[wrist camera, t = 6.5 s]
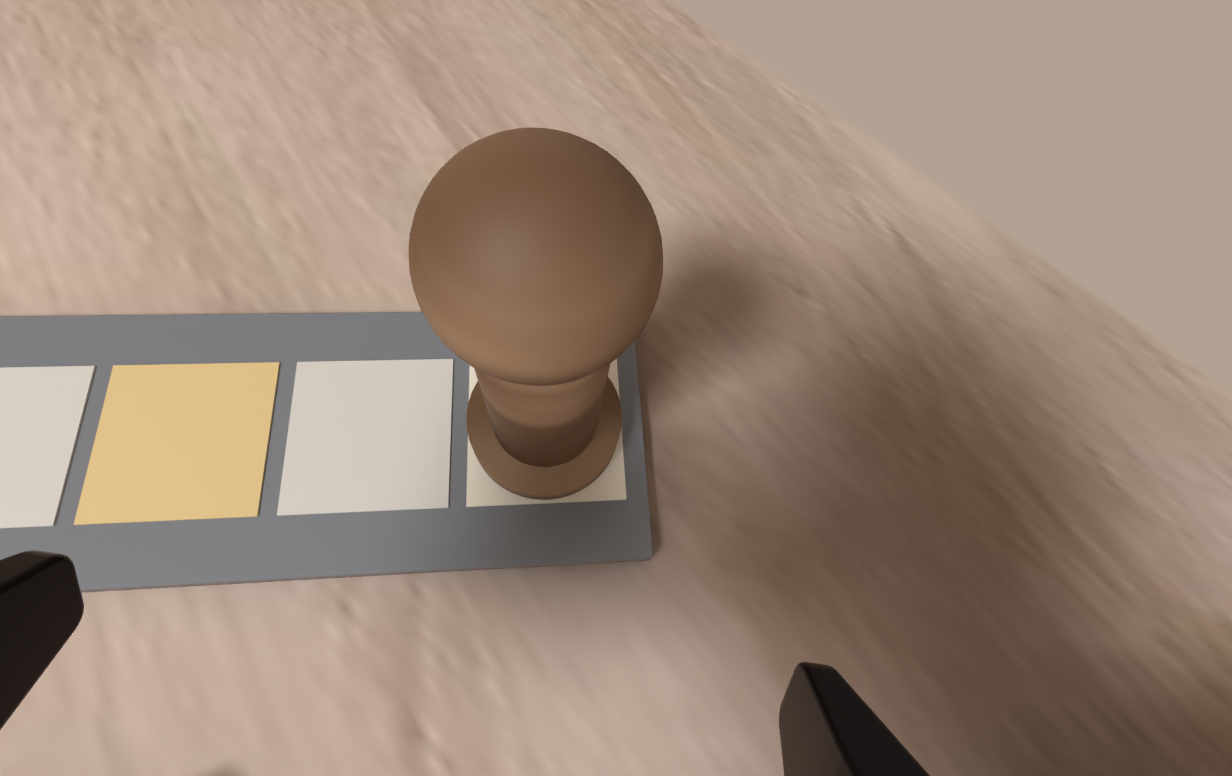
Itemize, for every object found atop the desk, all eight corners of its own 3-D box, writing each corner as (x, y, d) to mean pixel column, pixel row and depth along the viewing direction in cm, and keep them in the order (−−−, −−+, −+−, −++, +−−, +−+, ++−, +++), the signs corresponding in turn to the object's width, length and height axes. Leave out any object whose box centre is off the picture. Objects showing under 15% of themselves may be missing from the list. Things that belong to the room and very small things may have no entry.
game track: (630, 319, 24) (633, 309, 23) (649, 559, 20) (653, 557, 20) (-64, 328, 21) (-89, 316, 20) (-167, 606, 18) (-201, 605, 17)
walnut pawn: (640, 469, 21) (753, 270, 9) (497, 522, 19) (412, 372, 8) (588, 342, 22) (628, 31, 10) (452, 384, 21) (329, 90, 9)
